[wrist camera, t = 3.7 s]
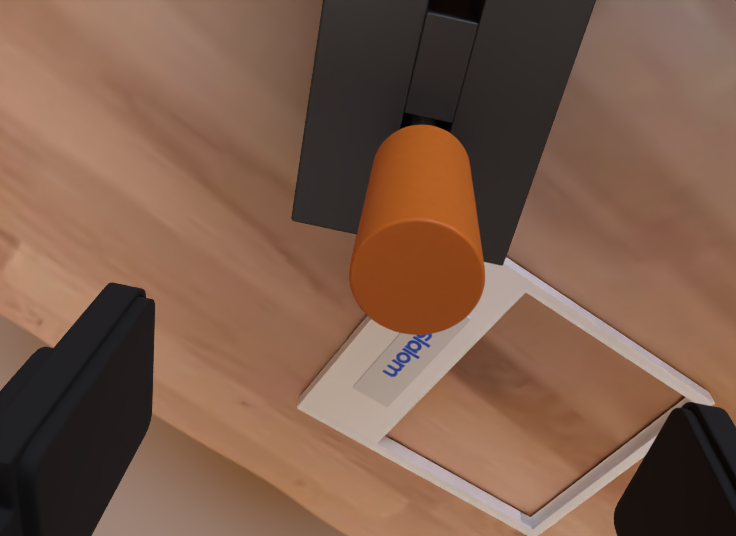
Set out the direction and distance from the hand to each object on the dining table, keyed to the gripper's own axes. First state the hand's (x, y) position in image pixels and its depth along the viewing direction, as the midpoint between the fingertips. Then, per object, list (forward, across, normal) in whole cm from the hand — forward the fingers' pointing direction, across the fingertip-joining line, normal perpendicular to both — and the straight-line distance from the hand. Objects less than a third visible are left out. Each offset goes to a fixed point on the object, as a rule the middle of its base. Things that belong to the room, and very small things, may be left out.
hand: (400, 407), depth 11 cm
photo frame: (+20, -8, +15) cm, 27 cm away
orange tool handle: (+20, 0, 0) cm, 20 cm away
